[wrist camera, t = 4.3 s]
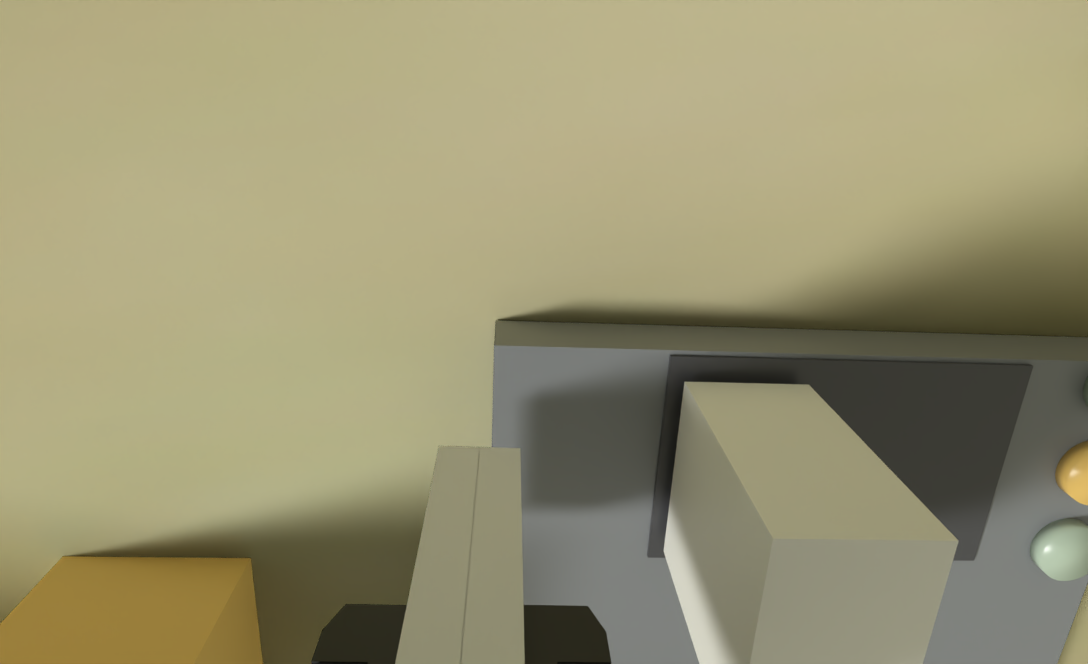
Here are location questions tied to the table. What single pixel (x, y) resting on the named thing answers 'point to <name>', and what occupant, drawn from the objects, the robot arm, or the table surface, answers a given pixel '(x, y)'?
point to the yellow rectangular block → (137, 613)
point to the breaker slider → (796, 535)
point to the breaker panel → (864, 405)
